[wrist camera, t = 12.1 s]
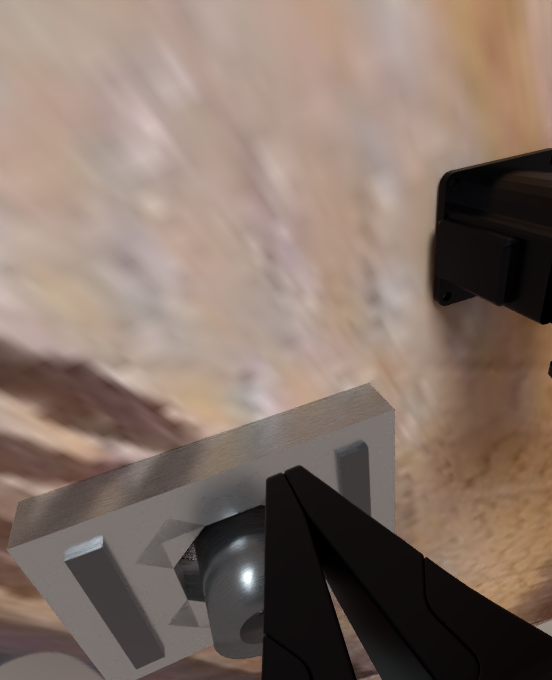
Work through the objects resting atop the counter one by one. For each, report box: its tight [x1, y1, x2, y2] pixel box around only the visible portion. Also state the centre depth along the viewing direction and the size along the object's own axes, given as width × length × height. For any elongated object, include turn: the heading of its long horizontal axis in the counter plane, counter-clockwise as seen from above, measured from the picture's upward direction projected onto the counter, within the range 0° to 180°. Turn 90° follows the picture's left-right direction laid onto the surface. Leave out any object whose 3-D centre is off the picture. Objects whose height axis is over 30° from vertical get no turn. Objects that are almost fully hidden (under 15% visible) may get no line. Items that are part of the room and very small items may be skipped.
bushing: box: [193, 505, 265, 659], centre depth 22 cm, size 5×5×6 cm
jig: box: [7, 383, 395, 680], centre depth 23 cm, size 18×13×3 cm
